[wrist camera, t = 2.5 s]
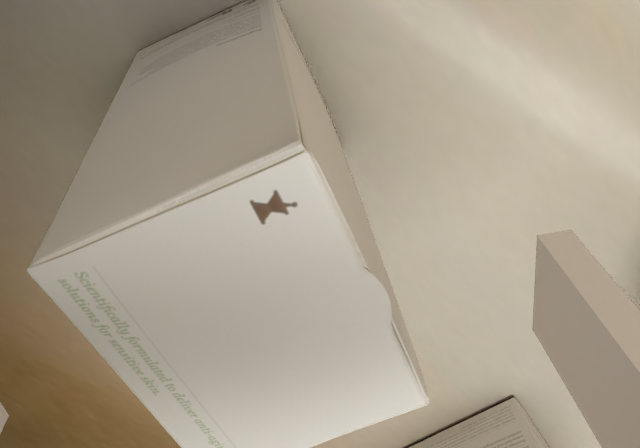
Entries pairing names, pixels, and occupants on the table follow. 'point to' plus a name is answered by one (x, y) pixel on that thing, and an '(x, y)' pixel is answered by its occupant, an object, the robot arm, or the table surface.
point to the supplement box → (490, 430)
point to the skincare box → (230, 248)
